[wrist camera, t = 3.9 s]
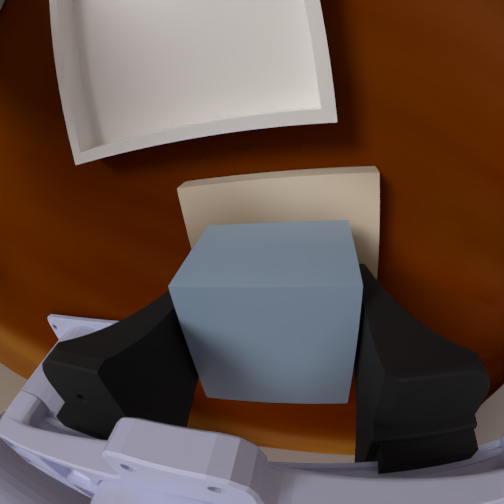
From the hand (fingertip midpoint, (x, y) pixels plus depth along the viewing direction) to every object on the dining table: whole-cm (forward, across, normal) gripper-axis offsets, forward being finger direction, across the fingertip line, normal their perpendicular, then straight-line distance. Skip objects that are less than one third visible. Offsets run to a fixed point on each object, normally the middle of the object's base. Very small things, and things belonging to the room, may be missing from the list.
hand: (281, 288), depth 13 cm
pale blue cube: (0, 0, 0) cm, 0 cm away
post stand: (+2, 0, 0) cm, 2 cm away
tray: (+2, +3, -12) cm, 12 cm away
